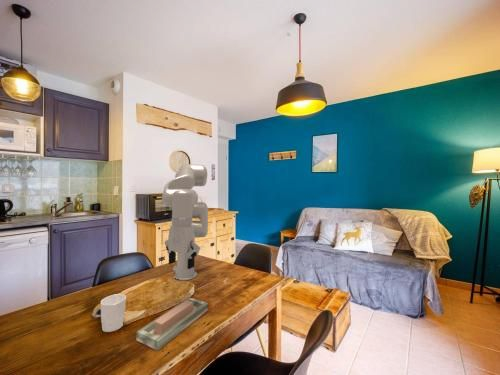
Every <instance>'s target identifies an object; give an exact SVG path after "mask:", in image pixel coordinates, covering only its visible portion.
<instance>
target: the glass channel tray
mask: <svg viewBox="0 0 500 375" xmlns="http://www.w3.org/2000/svg"><path fill="white" fill-rule="evenodd" d="M186 300H187V301H190V302H193V312H191V313H190V314H189V315H187V316H186V317H185V318H183V319H182V320H181V321H179V322H178V323H177V324H175V325H174V326H173V327H171V328H170V329H168V330H167V331H166V332H164V333H163V334H162V335H158V334H156V333H154V321H156V320H157V319H159V318H160V317H162V316H163V315H165V314H166V313H168V312H169V311H171V310H173V309H174V308H176V307H177V306H179V305H180V304H182V303H183V302H185V301H186ZM208 310H209V303H208V302H205V301H202V300H199V299H196V298H193V297H188V298H186V299H184V300H182V302H180V303H178V304H177V305H175V306H173V307H172V308H171V309H169V310H167V311H166V312H164V313H163V314H161V315H160V316H158V317H157V318H155V319H154V320H152V321H151V322H149V323H147V324H146V325H144V326H143V327H141V328H140V329H139V330H137V331H136V334H135V335H136V338H135V340H136V341H137V342H138V343H141V344H143V345H145V346H147V347H149V348H151V349H153V350H155V351H157V352H158V351H159V350H161V349H162V348H163V347H165V345H167V344H168V343H169V342H171V340H173V339H174V338H175V337H177V336H178V335H179V334H180V333H182V332H183V331H184V330H186V329H187V328H188V327H189V326H190V325H191V324H193V323H194V322H195V321H197V319H199V318H200V317H201V316H202V315H204V314H205V313H207V311H208Z"/></svg>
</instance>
